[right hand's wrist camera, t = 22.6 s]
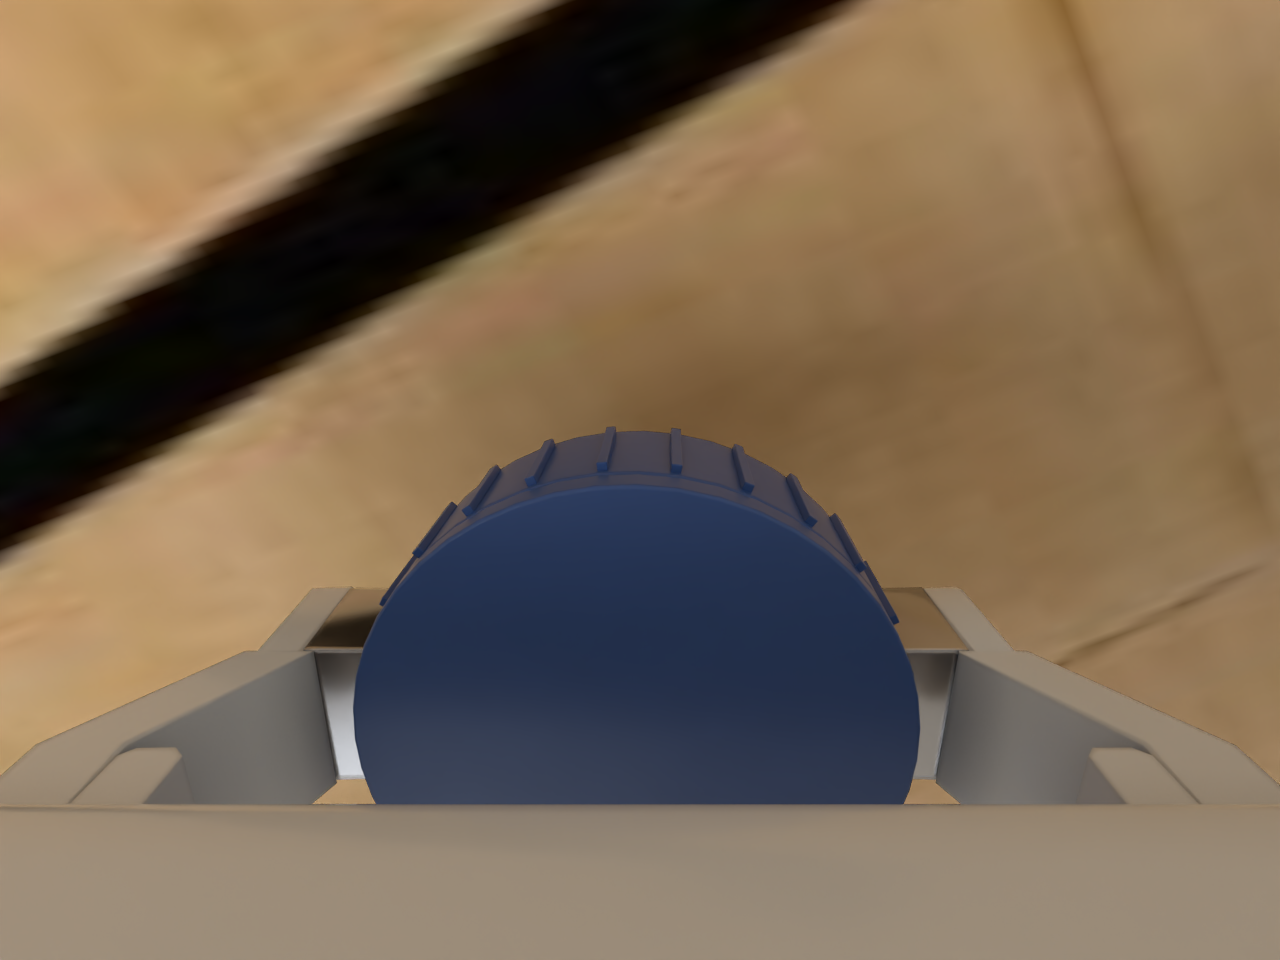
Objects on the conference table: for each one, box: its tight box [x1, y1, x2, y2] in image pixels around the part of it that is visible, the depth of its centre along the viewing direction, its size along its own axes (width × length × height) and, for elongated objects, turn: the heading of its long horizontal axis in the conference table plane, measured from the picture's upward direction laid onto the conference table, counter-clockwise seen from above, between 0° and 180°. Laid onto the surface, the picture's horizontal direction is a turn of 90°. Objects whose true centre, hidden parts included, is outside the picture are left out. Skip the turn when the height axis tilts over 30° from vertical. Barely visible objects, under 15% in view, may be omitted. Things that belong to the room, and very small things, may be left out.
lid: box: [353, 427, 920, 804], centre depth 9 cm, size 6×6×2 cm
